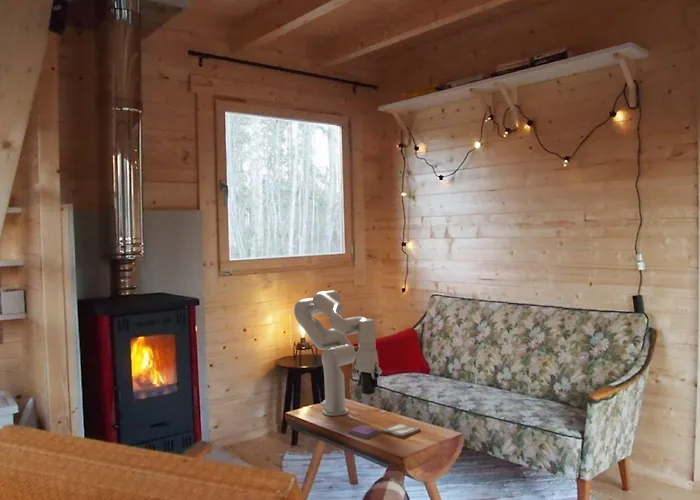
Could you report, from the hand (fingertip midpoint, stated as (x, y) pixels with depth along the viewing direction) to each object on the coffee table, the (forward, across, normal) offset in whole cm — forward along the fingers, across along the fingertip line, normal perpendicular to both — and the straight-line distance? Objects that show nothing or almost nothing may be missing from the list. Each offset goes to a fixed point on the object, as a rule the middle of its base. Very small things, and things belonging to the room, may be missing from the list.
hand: (368, 385), depth 282 cm
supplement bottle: (+4, 0, 0) cm, 4 cm away
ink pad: (+17, +7, -12) cm, 22 cm away
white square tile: (+17, +18, 0) cm, 25 cm away
